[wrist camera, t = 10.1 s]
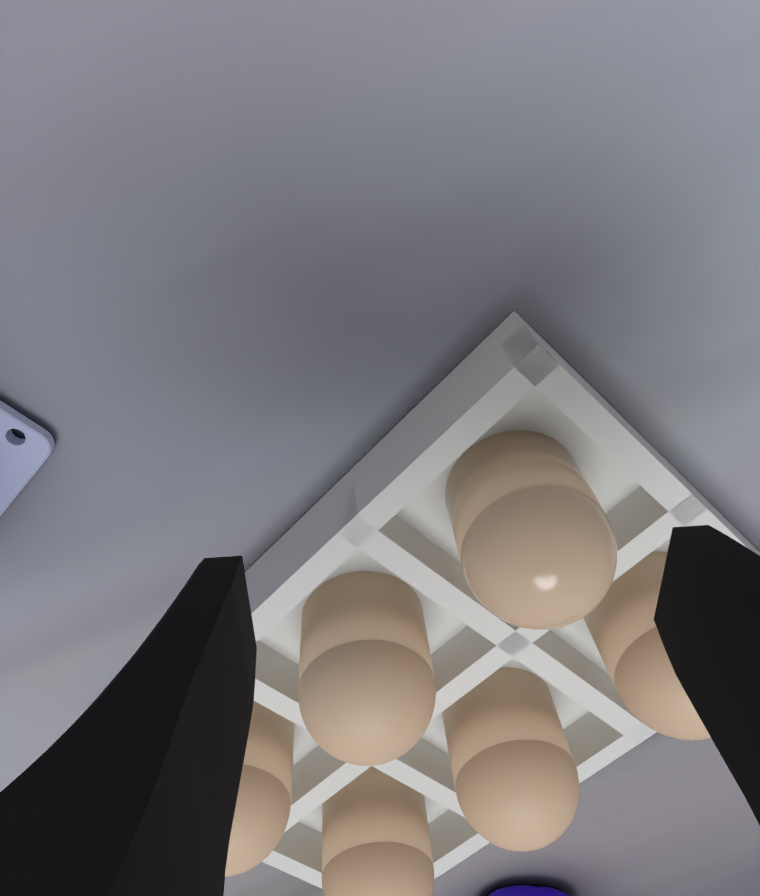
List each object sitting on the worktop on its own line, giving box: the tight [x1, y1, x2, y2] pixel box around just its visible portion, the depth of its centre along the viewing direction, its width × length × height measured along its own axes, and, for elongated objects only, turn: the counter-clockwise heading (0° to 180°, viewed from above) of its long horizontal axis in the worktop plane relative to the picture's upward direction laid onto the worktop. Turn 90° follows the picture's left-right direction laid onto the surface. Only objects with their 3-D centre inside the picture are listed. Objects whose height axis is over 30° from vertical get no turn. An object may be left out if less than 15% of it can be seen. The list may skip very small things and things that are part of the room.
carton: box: [225, 311, 760, 896], centre depth 23 cm, size 14×21×6 cm
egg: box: [445, 430, 617, 630], centre depth 19 cm, size 4×4×5 cm
